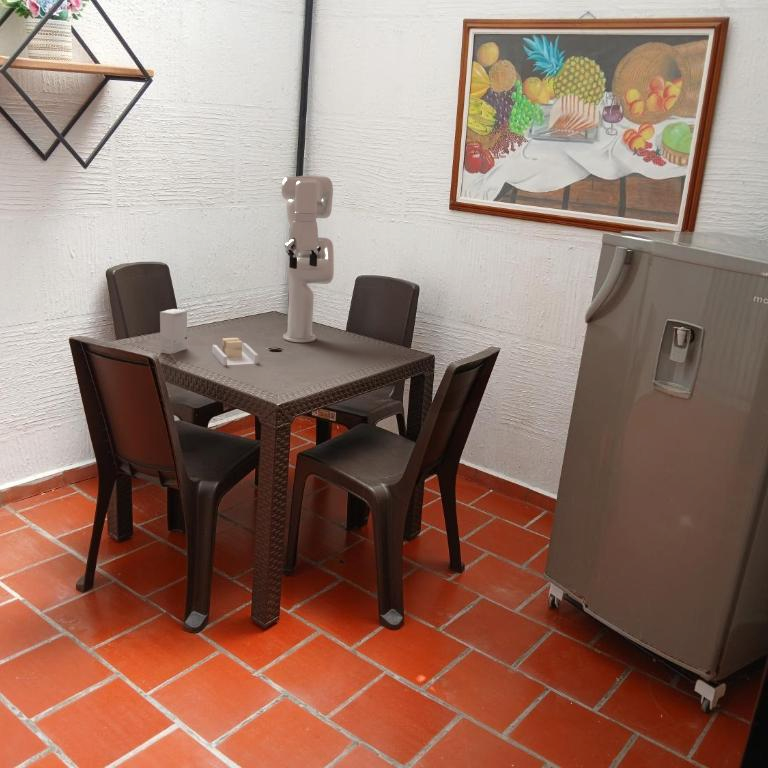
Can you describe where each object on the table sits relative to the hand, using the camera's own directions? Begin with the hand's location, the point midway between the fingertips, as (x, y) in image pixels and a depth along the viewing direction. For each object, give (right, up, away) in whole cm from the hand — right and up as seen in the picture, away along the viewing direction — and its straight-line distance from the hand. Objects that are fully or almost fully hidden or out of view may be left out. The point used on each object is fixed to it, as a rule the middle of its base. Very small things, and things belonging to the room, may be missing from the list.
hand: (303, 267), depth 283 cm
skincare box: (-46, -30, +3) cm, 55 cm away
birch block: (-25, -31, +1) cm, 40 cm away
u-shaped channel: (-24, -33, -2) cm, 40 cm away
